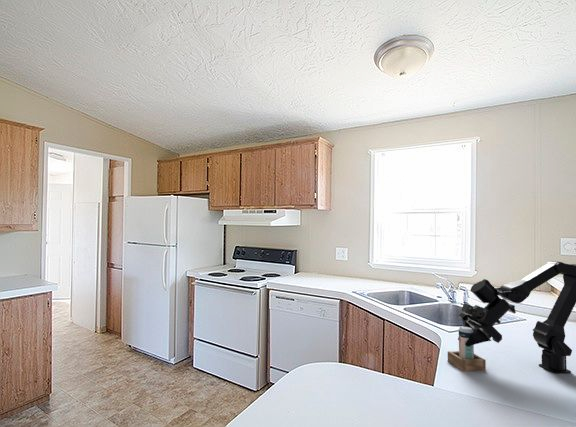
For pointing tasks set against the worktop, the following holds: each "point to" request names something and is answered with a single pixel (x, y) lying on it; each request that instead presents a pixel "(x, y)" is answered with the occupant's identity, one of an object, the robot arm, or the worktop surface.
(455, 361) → the socket block
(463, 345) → the beer can
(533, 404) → the worktop surface
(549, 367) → the robot arm
